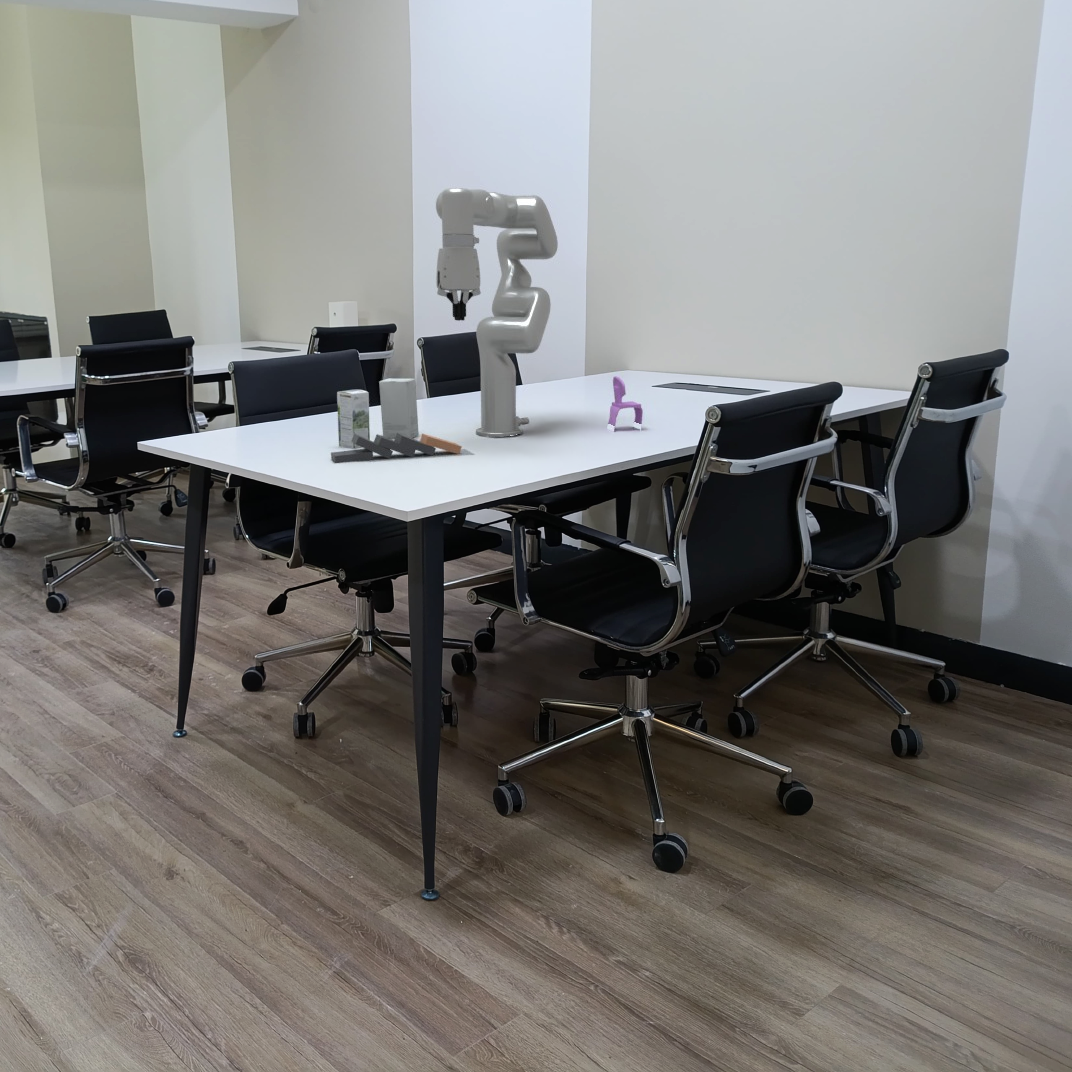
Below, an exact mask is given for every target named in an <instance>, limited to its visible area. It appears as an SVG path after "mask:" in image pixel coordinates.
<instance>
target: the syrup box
mask: <svg viewBox="0 0 1072 1072" xmlns="http://www.w3.org/2000/svg"><path fill="white" fill-rule="evenodd" d="M369 393H370V392H368V391H367V390H363V389H349V390H348V389H347V390H342V391H341V390H340V391H339V390H338V391H337V392H336V402H337V429H338V430H337V431H338V447H340V448H347V449H350V450H357V449H362V447H361V446H358V445H356V444H354V443H353V442H352V441H351V440H352V438H353V436H354V434H357V435H359V436H362V437H364V438H366V439H369V440H371V438H370V437H371V432H370V403H369V402H370V397H369V396H370V395H369Z"/></svg>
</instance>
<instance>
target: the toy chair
mask: <svg viewBox="0 0 1072 1072" xmlns="http://www.w3.org/2000/svg"><path fill="white" fill-rule="evenodd" d="M612 386H613V396H614V401H612V402H611V406H610V408H609V418H608V423H607V424H611V425H613V426H615V427H616V423H617V418H618V414H619V412H620V410H623V409H629V408H630V409H633V410H634V421H633V423H634V422H636V423H639V424H642V425H643V415H644V414H643V413H644V412H643V411H644V410H643V407H642V404H641V403H638V402H635V401H623V397H625V396H626V395H627V393H626V385H625V382H624V380H622V378H620V376H613V379H612Z"/></svg>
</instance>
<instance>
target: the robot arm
mask: <svg viewBox="0 0 1072 1072" xmlns="http://www.w3.org/2000/svg"><path fill="white" fill-rule="evenodd" d="M436 197H437V198H436V201H435V209H436V213H437V215H438V217H439V219H441V227H442V228H441V229H442V231H441V232H442V235H441V236H442V237H441V238H442V248H439V249H438V253H437V263H436V277H435V278H436V281H435V282H436V288H437V292H436V294H437V296H441V297H444V298H447V300H448V301H449V302H450V303H451V304H452V317H453V319H454V320H455V321H459V322H460V321H465V319H466V318H465V317H467V304H468V303H469V301H470V300H471V299H472V298H473V297H477V296H480V295H481V294H482V292H481V289H480V288H481V272H480V270H481V269H480V261H479V256H478V250H477V248H475V245H476V244H480V238H479V237H476V236H475V233H474V231H475V229H474V228H475V227H474V226H479V227H492V228H499V229H503V230H502V231H500V232H499V233H498V235H497V239H496V252H497V257H498V263H499V267H500V271H501V277H500V280H499V282H498V286H497V289H496V291H495V295H494V297H493V299H492V305H491V312H492V316H489V317H485V318H482V319H481V320H480V321H479V322H478V324H477V327H476V332H475V333H476V340H477V346H478V352H479V361H480V362H479V363H480V365H479V366H480V419H481V421H480V422H481V423H480V424H481V426H480V427H478V428H477V429H475V434H476V435H477V436H481V437H486V436H489V438H495V437H494V436H510V435H516V434H520V435H522V433H523V432H522V431H523V430H522V429H521V428H520V426H521V425H522V426H524V425H528V424H530V419H529V418H528V417H525V416H524V417H521V418H520V417H519V415H518V416H517V394H516V393H517V387H516V386H517V380H516V379H517V376H516V375H517V374H516V373H517V370H516V366H515V364H514V362H513V361H512V359H511V357H510V356H509V355H508V354H526V355H527V354H533V353H535V352H537V351H538V349H539V347H540V346H541V343H542V340H543V336H544V334H545V330H546V327H547V324H548V321H549V318H550V314H551V313H550V312H551V304H552V303H551V298H550V297H551V296H550V295H549V292H547V290H546V289H544V288H543V287H540V286H539V287H538V286H531V285H532V276H531V275H530V273H529V270H528V269H527V268H526V267H525V266H524V265H523V264H522V262H521V260H549V259H552V258H553V257H554V256H555V255H556V253H558V252H557V251H558V246H559V245H558V243H559V242H558V236H557V232H556V230H555V229H556V228H555V227H554V226H555V225H554V223H553V221H552V217H551V215H550V212H549V209H548V207H547V204H546V203H545V202H544V200H543V199H542V197H540V196H538V195H533V194H532V195H508V194H503V193H500V192H499V193H498V192H491V191H487V190H485V189H468V188H457V187H455V188H451V187H450V188H446V189H443V190H442V191H441V192H440V193H439V194H438V196H436ZM458 291H460V295H459V296H458ZM490 436H491V437H490Z"/></svg>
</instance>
